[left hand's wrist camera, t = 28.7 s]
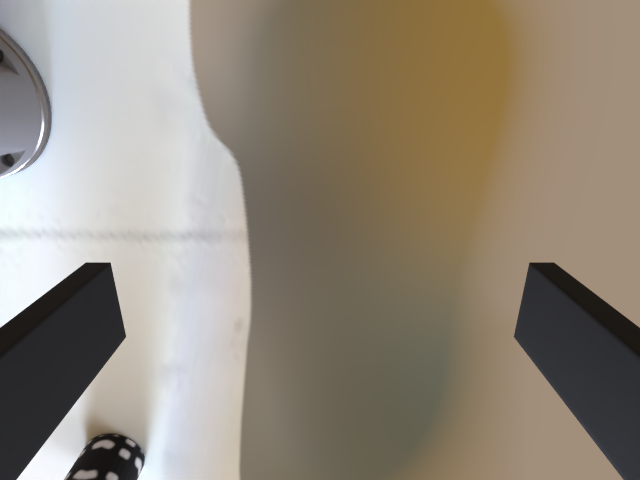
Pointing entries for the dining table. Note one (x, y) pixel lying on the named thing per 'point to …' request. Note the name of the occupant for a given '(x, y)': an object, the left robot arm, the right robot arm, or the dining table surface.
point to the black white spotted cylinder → (108, 460)
